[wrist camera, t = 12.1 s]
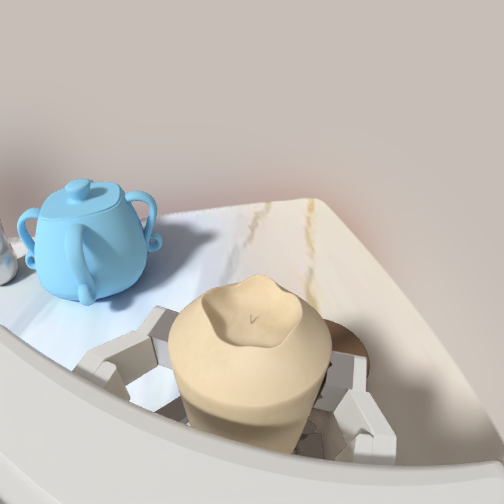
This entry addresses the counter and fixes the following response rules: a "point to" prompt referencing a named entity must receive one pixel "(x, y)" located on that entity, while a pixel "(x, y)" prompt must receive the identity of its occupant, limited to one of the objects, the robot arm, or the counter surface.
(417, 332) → the counter surface
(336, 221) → the counter surface
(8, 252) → the plastic bottle
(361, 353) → the coaster
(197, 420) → the candle
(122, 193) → the decorative pot
